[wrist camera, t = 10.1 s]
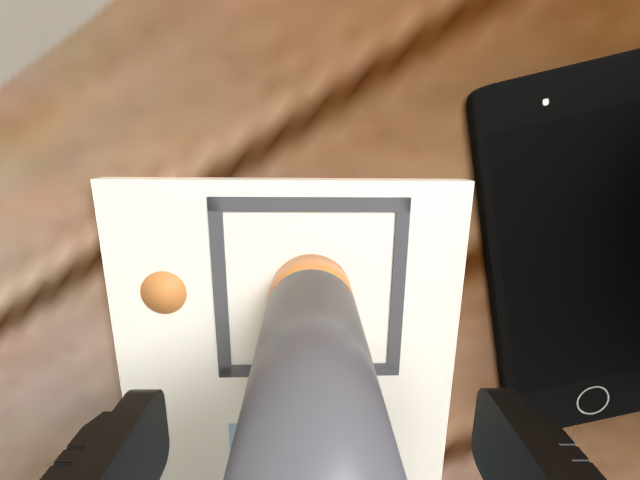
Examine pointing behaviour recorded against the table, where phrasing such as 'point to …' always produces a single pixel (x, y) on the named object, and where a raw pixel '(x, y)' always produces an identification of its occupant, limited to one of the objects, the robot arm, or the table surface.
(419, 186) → the board
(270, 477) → the marker
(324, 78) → the table surface
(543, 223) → the cell phone
